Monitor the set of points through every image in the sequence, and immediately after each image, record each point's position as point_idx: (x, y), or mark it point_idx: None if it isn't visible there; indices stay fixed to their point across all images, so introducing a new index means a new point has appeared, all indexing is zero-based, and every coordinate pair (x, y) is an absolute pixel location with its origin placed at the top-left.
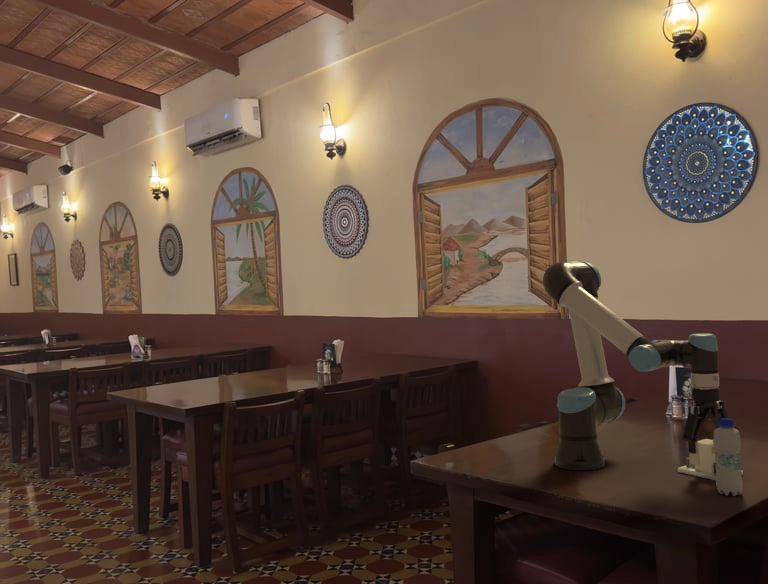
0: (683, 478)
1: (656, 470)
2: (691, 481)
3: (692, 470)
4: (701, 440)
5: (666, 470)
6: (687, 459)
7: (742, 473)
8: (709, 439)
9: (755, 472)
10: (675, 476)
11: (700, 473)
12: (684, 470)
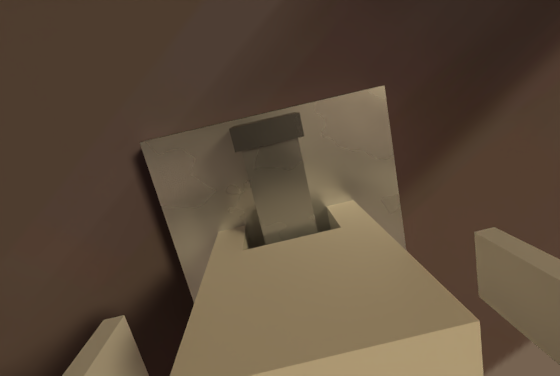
0: (92, 263)
1: (36, 27)
2: (97, 323)
3: (187, 239)
4: (339, 366)
5: (104, 67)
6: (234, 144)
7: None
8: (478, 368)
9: (497, 339)
10: (73, 210)
11: (194, 298)
12: (159, 194)
